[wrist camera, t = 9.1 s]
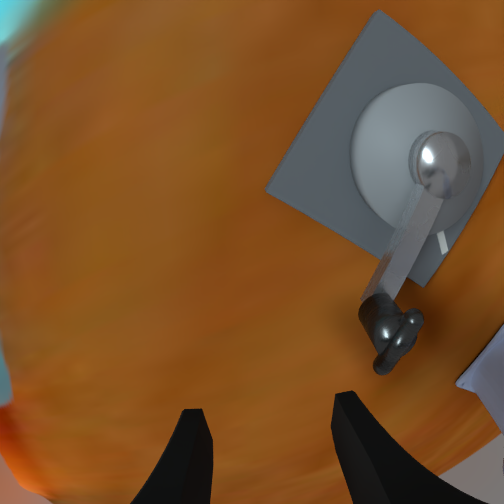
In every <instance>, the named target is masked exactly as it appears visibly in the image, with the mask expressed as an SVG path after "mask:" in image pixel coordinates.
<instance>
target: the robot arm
mask: <svg viewBox="0 0 504 504" xmlns="http://www.w3.org/2000/svg"><path fill="white" fill-rule="evenodd" d="M456 385H457V387H460V388H463V389H466V390H469V391H471V392H474V393H476V394H477V395H478V397H479V398H480V400H481V401H482V403H483V404H484V406H485V407H486V409H487V410H488V412H489V413H490V415H491V416H492V418H493V419H494V421H495V422H496V424H497V425H498V427H499V429H500V430H501V432H502V433H503V435H504V324H503V326H502V327H501V328H500V330H499V331H498V332H497V334H496V335H495V336H494V337H493V339H492V340H491V341H490V343H489V344H488V345H487V346H486V348H485V349H484V350H483V351H482V352H481V354H480V355H479V356H478V357H477V358H476V360H475V361H474V362H473V363H472V364H471V365H470V367H469V368H468V369H467V370H466V371H465V372H464V373H463V374H462V375H461V377H460V378H459V379H458V380H457V381H456ZM331 430H332V435H333V440H334V445H335V450H336V453H337V456H338V459H339V462H340V465H341V468H342V471H343V474H344V477H345V480H346V483H347V486H348V489H349V492H350V495H351V498H352V501H353V504H488V503H486V502H483V501H481V500H478V499H476V498H474V497H472V496H470V495H468V494H466V493H464V492H462V491H460V490H458V489H457V488H455V487H453V486H452V485H450V484H448V483H447V482H445V481H444V480H442V479H440V478H439V477H437V476H436V475H435V474H433V473H432V472H430V471H429V470H428V469H426V468H425V467H424V466H423V465H421V464H420V463H419V462H418V461H417V460H415V459H414V458H413V457H412V456H411V455H410V454H409V453H407V452H406V451H405V450H404V449H403V448H402V447H401V446H400V445H399V444H398V443H397V442H396V441H395V440H394V439H393V438H392V437H391V436H390V435H389V433H388V432H387V431H386V430H385V429H384V428H383V427H382V426H381V425H380V424H379V422H378V421H377V420H376V419H375V418H374V416H373V415H372V414H371V413H370V412H369V410H368V409H367V408H366V406H365V405H364V404H363V403H362V401H361V400H360V399H359V397H358V396H357V394H356V393H355V392H354V391H347V392H342V393H337V394H335V400H334V408H333V415H332V421H331ZM503 474H504V460H503ZM212 475H213V439H212V436H211V433H210V431H209V428H208V425H207V422H206V419H205V416H204V413H203V410H202V409H184V410H183V411H182V413H181V416H180V418H179V421H178V423H177V425H176V428H175V430H174V432H173V434H172V436H171V438H170V440H169V443H168V444H167V446H166V448H165V450H164V452H163V454H162V456H161V458H160V460H159V461H158V463H157V465H156V467H155V468H154V470H153V471H152V473H151V475H150V476H149V478H148V480H147V481H146V483H145V484H144V486H143V487H142V488H141V490H140V491H139V493H138V494H137V495H136V497H135V498H134V499H133V501H132V502H131V503H130V504H210V497H211V486H212Z"/></svg>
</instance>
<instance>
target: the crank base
mask: <svg viewBox="0 0 504 504" xmlns="http://www.w3.org/2000/svg"><path fill="white" fill-rule="evenodd" d="M430 130H436V131H443V132H450V133H453V134H456V135H457V136H459V137H460V138H461V139H462V140H463V141H464V143H465V144H466V146H467V148H468V150H469V153H470V158H471V173H470V177H469V180H468V182H467V184H466V186H465V188H464V189H463V190H462V191H461V193H459V194H458V195H457V196H455V197H453V198H450V199H444V200H443V202H442V205H441V207H440V209H439V212H438V214H437V216H436V218H435V220H434V223H433V225H432V227H431V229H430V231H429V233H428V236H427V238H426V240H425V242H424V244H423V246H422V248H421V250H420V252H419V254H418V256H417V258H416V260H415V262H414V264H413V266H412V268H411V270H410V271H409V273H408V275H407V277H408V278H409V279H411V280H413V281H414V282H416V283H417V284H419V285H420V286H422V287H423V288H424V287H425V285H426V284H427V282H428V281H429V280H430V278H431V277H432V275H433V274H434V273H435V271H436V270H437V268H438V267H439V265H440V264H441V262H442V261H443V259H444V258H445V256H446V255H447V253H448V252H449V250H450V249H451V247H452V246H453V244H454V243H455V241H456V239H457V238H458V236H459V235H460V233H461V231H462V230H463V228H464V227H465V225H466V223H467V222H468V220H469V218H470V216H471V215H472V213H473V211H474V210H475V208H476V206H477V204H478V202H479V201H480V199H481V197H482V195H483V193H484V191H485V190H486V188H487V186H488V184H489V182H490V180H491V178H492V176H493V174H494V172H495V170H496V168H497V166H498V164H499V162H500V160H501V158H502V156H503V153H504V132H503V131H502V130H501V128H500V127H499V126H498V124H497V123H496V122H495V120H494V119H493V118H492V117H491V115H490V114H489V113H488V112H487V110H486V109H485V108H484V107H483V106H482V104H481V103H480V102H479V101H478V100H477V99H476V97H475V96H474V95H473V94H472V93H471V92H470V91H469V89H468V88H467V87H466V86H465V85H464V84H463V83H462V82H461V81H460V80H459V79H458V78H457V77H456V76H455V75H454V74H453V72H452V71H451V70H450V69H449V68H448V67H447V66H446V65H445V64H443V63H442V62H441V61H440V60H439V59H438V58H437V57H436V56H435V55H434V54H433V53H432V52H431V51H430V50H429V49H428V48H426V47H425V46H424V45H423V44H422V43H421V42H420V41H418V40H417V39H416V38H415V37H414V36H413V35H411V34H410V33H409V32H408V31H407V30H405V29H404V28H403V27H402V26H400V25H399V24H398V23H397V22H395V21H394V20H393V19H391V18H390V17H389V16H387V15H386V14H385V13H383V12H382V11H381V10H377V11H376V12H374V13H373V14H372V16H371V18H370V19H369V21H368V22H367V24H366V25H365V27H364V28H363V30H362V32H361V33H360V35H359V36H358V38H357V39H356V41H355V42H354V44H353V46H352V47H351V49H350V50H349V52H348V54H347V55H346V57H345V58H344V60H343V61H342V63H341V65H340V66H339V68H338V69H337V71H336V73H335V74H334V76H333V77H332V79H331V81H330V82H329V84H328V85H327V87H326V89H325V90H324V92H323V93H322V95H321V97H320V98H319V100H318V102H317V103H316V105H315V106H314V108H313V110H312V111H311V113H310V115H309V116H308V118H307V119H306V121H305V123H304V124H303V126H302V128H301V129H300V131H299V133H298V134H297V136H296V137H295V139H294V141H293V142H292V144H291V146H290V147H289V149H288V151H287V152H286V154H285V156H284V157H283V159H282V161H281V162H280V164H279V166H278V167H277V169H276V171H275V172H274V174H273V176H272V177H271V179H270V181H269V182H268V184H267V186H266V187H265V191H266V192H267V193H269V194H270V195H272V196H274V197H276V198H278V199H279V200H281V201H283V202H285V203H287V204H288V205H290V206H292V207H294V208H295V209H297V210H299V211H301V212H302V213H304V214H306V215H307V216H309V217H311V218H313V219H314V220H316V221H318V222H319V223H321V224H323V225H324V226H326V227H328V228H330V229H331V230H333V231H335V232H336V233H338V234H340V235H341V236H343V237H344V238H346V239H348V240H349V241H351V242H353V243H354V244H356V245H358V246H359V247H361V248H362V249H364V250H366V251H367V252H369V253H370V254H372V255H374V256H375V257H377V258H378V259H380V260H381V258H382V256H383V254H384V252H385V250H386V248H387V246H388V244H389V242H390V240H391V238H392V236H393V234H394V232H395V230H396V227H397V225H398V223H399V221H400V219H401V217H402V214H403V212H404V210H405V208H406V205H407V203H408V201H409V198H410V196H411V194H412V191H413V189H414V187H415V183H414V181H413V180H412V178H411V175H410V172H409V166H408V158H409V152H410V149H411V146H412V144H413V142H414V141H415V139H416V138H417V137H418V136H419V135H421V134H422V133H424V132H426V131H430Z"/></svg>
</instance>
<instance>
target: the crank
mask: <svg viewBox="0 0 504 504" xmlns="http://www.w3.org/2000/svg"><path fill="white" fill-rule="evenodd" d="M408 166H409V172H410V175H411V178H412V180H413V181H414V183H415V187H414V189H413V191H412V194H411V196H410V198H409V201H408V203H407V205H406V208H405V210H404V212H403V214H402V217H401V219H400V221H399V223H398V225H397V227H396V230H395V232H394V234H393V236H392V238H391V240H390V242H389V244H388V246H387V248H386V250H385V252H384V254H383V256H382V258H381V260H380V262H379V264H378V266H377V268H376V270H375V272H374V274H373V276H372V278H371V280H370V282H369V284H368V286H367V287H366V289H365V291H364V293H363V295H362V297H361V298H360V299H361V301H362V302H363V303H362V305H361V306H360V308H359V312H358V317H359V320H360V322H361V323H362V325H363V327H364V329H365V330H366V332H367V334H368V336H369V338H370V339H371V341H372V343H373V345H374V347H375V349H376V350H377V352H378V355H377V357H376V358H375V360H374V362H373V369H374V371H375V372H376V373H377V374H379V375H386V374H388V373H390V372H391V371H392V369H393V368H394V366H395V365H396V364H397V362H398V361H399V360H400V358H401V357H402V356H404V355H405V354H406V353H408V352H409V351H410V350H411V349H412V347H413V346H414V344H415V342H416V339H417V333H418V332H419V330H420V329H421V327H422V325H423V323H424V316H423V313H422V312H421V311H420V310H418V309H415V308H412V309H409V310H407V311H406V312H405V313H404V314H403V312H402V311H401V310H400V308H399V307H398V306H397V304H396V303H395V302H394V301H393V300H394V299H395V297H396V295H397V293H398V292H399V290H400V288H401V286H402V284H403V283H404V281H405V279H406V277H407V275H408V273H409V271H410V270H411V268H412V266H413V264H414V262H415V260H416V258H417V256H418V254H419V252H420V250H421V248H422V246H423V244H424V242H425V240H426V238H427V236H428V233H429V231H430V229H431V227H432V225H433V223H434V220H435V218H436V216H437V214H438V212H439V209H440V207H441V205H442V202H443V200H444V199H450V198H453V197H455V196H457V195H458V194H459V193H461V191H462V190H463V189H464V188H465V186H466V184H467V182H468V180H469V177H470V173H471V158H470V153H469V150H468V148H467V146H466V144H465V143H464V141H463V140H462V139H461V138H460V137H459V136H457V135H456V134H453V133H450V132H443V131H436V130H430V131H426V132H424V133H422V134H421V135H419V136H418V137H417V138H416V139H415V141H414V142H413V144H412V146H411V149H410V152H409V158H408Z"/></svg>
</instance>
